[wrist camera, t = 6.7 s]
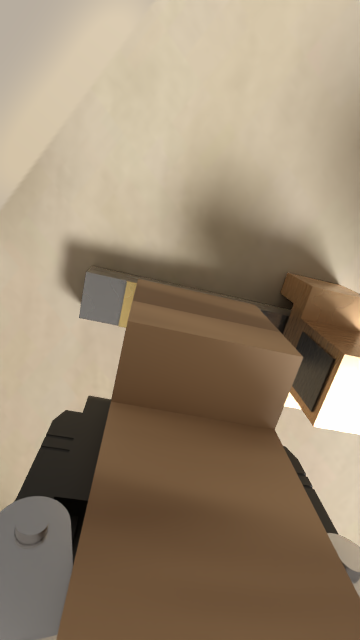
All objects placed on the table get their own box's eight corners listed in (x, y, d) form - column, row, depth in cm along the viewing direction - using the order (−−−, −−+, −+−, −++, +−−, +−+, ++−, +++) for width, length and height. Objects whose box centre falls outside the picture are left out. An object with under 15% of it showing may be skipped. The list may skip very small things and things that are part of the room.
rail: (335, 389, 27) (418, 476, 18) (80, 341, 24) (38, 418, 16) (377, 293, 24) (495, 344, 16) (97, 227, 22) (60, 245, 13)
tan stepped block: (197, 487, 14) (259, 933, 5) (97, 473, 13) (-7, 946, 5) (258, 305, 11) (545, 611, 3) (138, 278, 11) (68, 560, 2)
